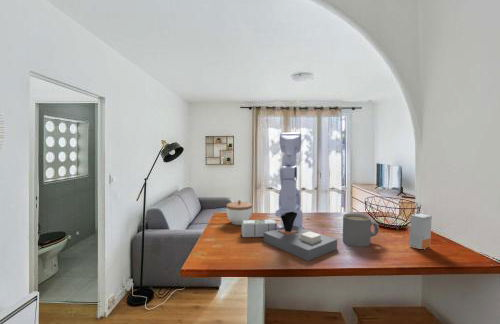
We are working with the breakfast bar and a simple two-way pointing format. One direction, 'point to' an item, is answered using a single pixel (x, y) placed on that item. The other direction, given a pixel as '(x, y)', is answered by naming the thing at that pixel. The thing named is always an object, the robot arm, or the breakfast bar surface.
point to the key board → (300, 243)
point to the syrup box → (257, 227)
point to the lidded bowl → (239, 211)
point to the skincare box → (420, 231)
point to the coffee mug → (358, 229)
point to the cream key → (310, 237)
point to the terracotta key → (288, 232)
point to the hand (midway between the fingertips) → (288, 231)
